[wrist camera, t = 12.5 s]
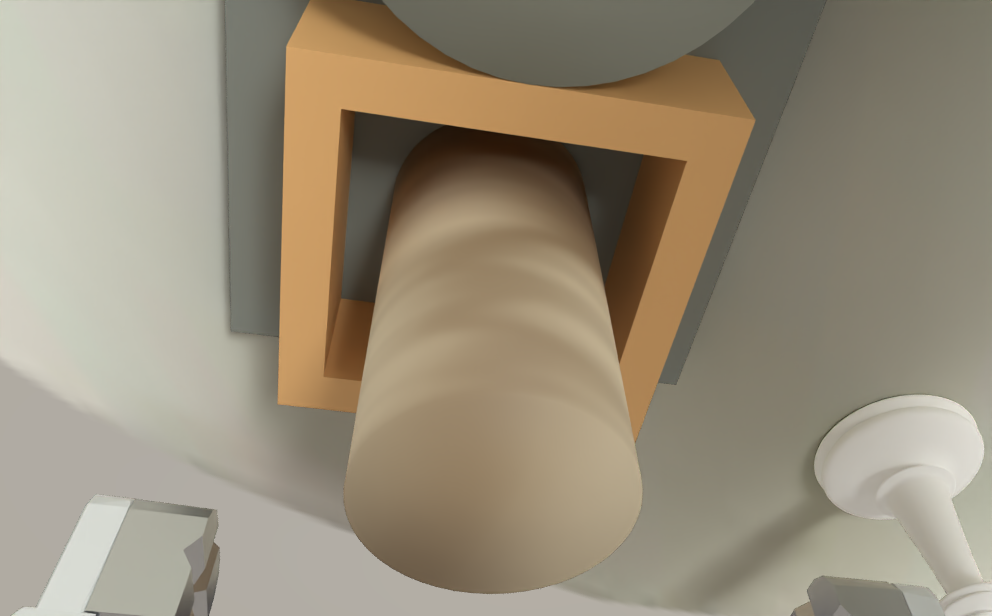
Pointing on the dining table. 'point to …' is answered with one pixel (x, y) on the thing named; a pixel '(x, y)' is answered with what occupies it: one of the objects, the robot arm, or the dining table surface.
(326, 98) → the base
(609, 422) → the wooden peg
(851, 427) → the chess piece
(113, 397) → the dining table surface
